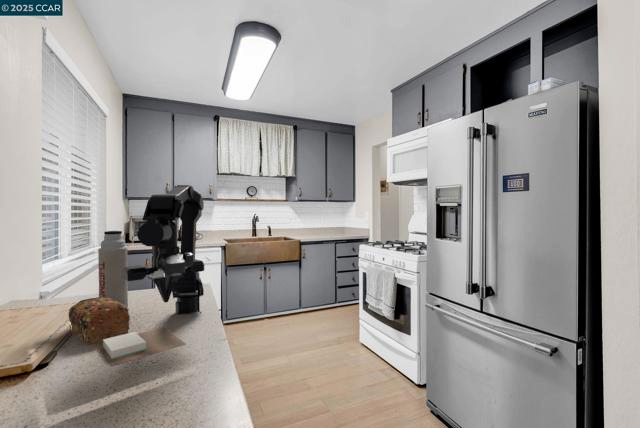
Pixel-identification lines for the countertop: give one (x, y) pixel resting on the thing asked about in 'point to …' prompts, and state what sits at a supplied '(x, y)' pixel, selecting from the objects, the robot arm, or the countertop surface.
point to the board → (147, 345)
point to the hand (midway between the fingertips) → (165, 302)
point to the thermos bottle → (113, 267)
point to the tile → (124, 345)
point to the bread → (99, 319)
